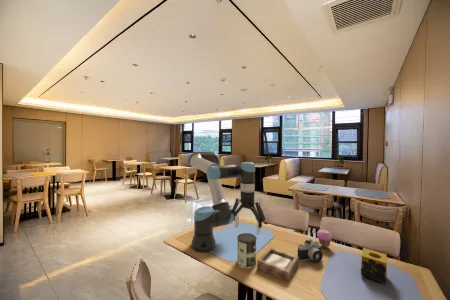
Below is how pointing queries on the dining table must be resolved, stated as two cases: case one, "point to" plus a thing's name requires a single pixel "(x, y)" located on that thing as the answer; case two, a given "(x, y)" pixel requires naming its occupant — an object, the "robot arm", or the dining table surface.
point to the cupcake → (324, 237)
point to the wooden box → (278, 264)
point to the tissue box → (374, 265)
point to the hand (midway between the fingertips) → (247, 230)
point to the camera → (310, 251)
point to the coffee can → (246, 250)
